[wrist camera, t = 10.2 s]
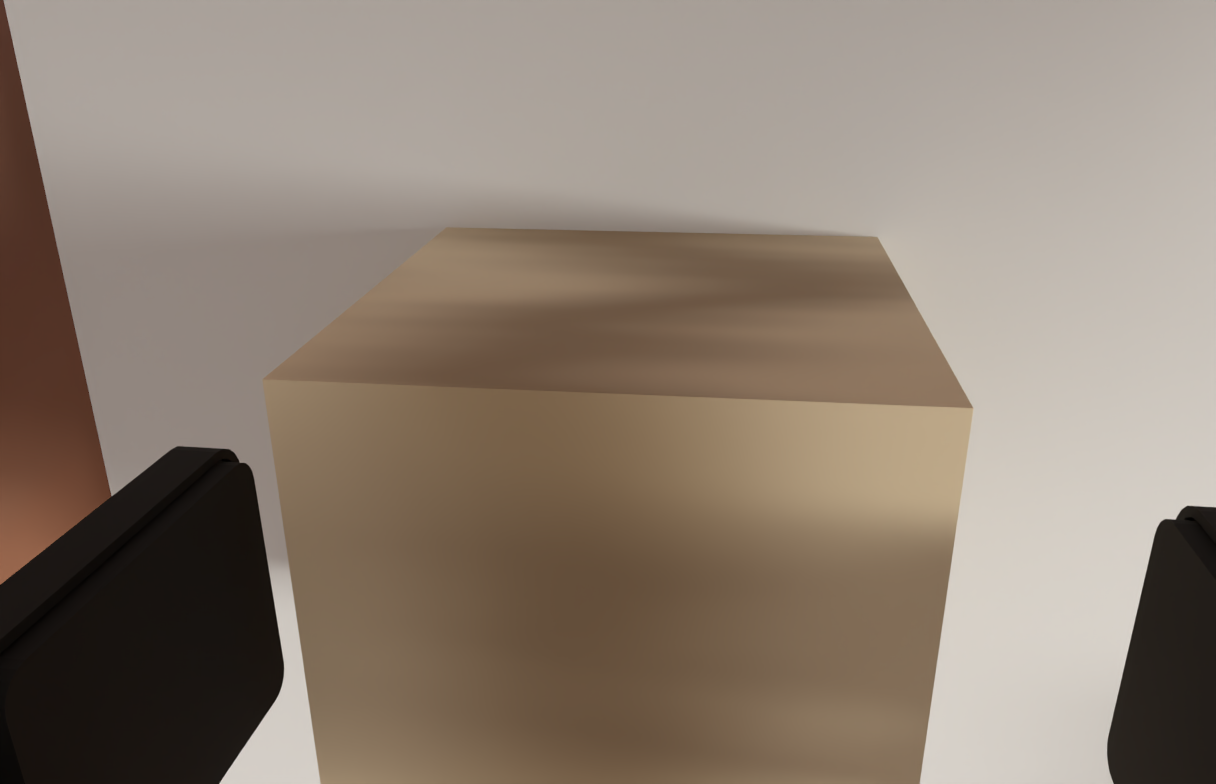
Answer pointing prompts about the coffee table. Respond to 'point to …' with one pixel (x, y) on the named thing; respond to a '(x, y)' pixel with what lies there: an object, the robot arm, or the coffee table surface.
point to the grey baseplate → (685, 203)
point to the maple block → (622, 512)
